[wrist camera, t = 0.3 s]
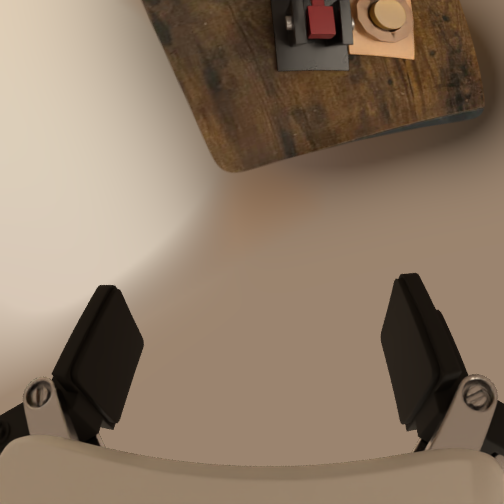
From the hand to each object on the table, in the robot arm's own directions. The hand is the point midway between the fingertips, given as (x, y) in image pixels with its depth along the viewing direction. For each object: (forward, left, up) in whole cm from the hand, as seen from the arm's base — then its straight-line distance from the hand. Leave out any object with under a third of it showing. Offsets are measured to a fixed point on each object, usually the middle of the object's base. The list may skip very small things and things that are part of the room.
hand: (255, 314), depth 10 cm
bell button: (-13, +14, -27) cm, 33 cm away
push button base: (-13, +14, -31) cm, 36 cm away
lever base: (-11, +6, -31) cm, 33 cm away
